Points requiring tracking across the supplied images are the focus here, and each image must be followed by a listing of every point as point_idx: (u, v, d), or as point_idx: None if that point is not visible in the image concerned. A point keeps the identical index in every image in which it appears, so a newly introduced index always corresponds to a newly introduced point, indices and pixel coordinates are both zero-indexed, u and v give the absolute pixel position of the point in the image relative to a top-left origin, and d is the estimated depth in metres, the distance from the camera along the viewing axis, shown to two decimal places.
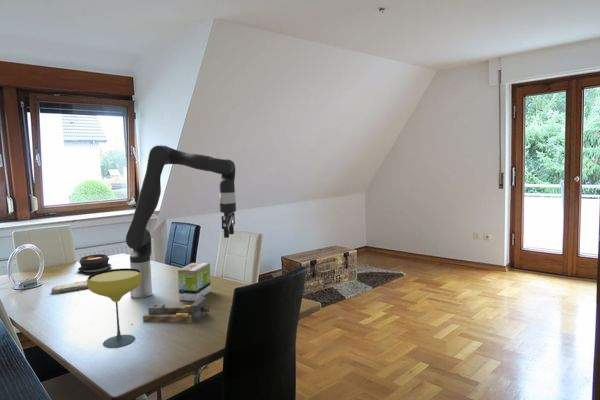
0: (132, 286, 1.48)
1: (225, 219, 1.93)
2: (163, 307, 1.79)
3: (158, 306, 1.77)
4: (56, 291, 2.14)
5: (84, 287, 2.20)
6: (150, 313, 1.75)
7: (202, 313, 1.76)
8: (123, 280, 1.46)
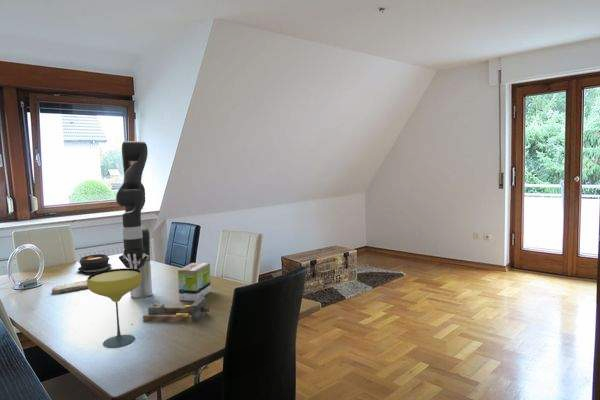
0: (132, 286, 1.48)
1: (147, 259, 1.76)
2: (163, 307, 1.79)
3: (158, 306, 1.77)
4: (57, 291, 2.13)
5: (85, 287, 2.20)
6: (150, 313, 1.76)
7: (202, 313, 1.76)
8: (123, 280, 1.46)
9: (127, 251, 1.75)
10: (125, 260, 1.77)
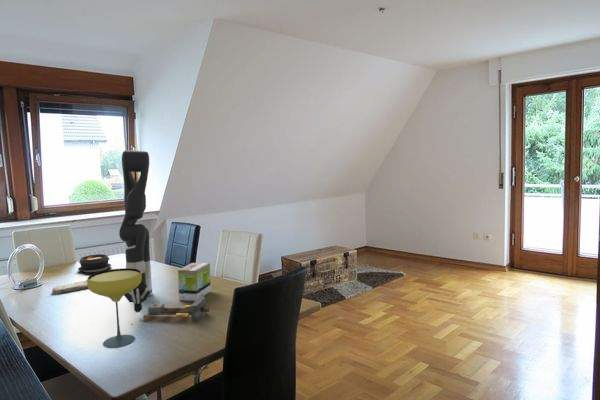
0: (132, 286, 1.48)
1: (150, 293, 1.78)
2: (162, 307, 1.79)
3: (157, 306, 1.77)
4: (57, 291, 2.13)
5: (85, 287, 2.21)
6: (149, 313, 1.76)
7: (202, 313, 1.76)
8: (123, 280, 1.46)
9: None
10: (128, 294, 1.78)
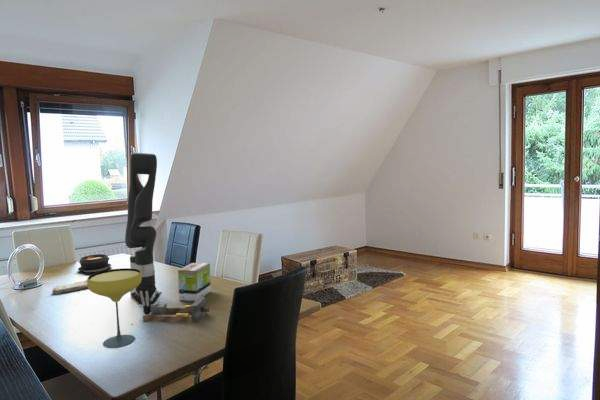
0: (132, 286, 1.48)
1: (159, 296, 1.77)
2: (165, 306, 1.79)
3: (160, 305, 1.77)
4: (58, 292, 2.13)
5: (85, 287, 2.21)
6: (152, 312, 1.76)
7: (202, 313, 1.76)
8: (123, 280, 1.46)
9: (139, 288, 1.76)
10: (137, 297, 1.78)
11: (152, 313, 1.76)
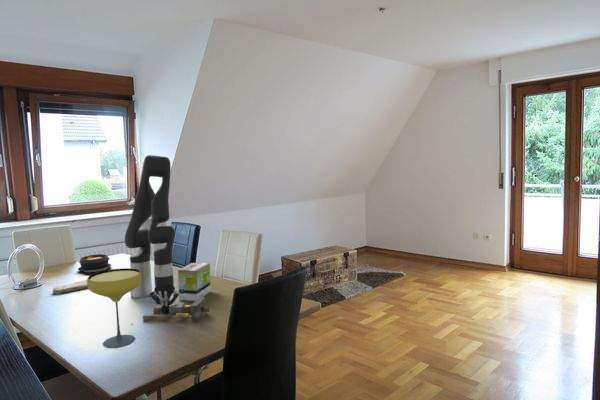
0: (132, 286, 1.48)
1: None
2: (183, 306, 1.78)
3: (178, 305, 1.76)
4: (58, 291, 2.13)
5: (86, 287, 2.21)
6: (171, 312, 1.75)
7: (202, 313, 1.76)
8: (123, 280, 1.46)
9: (158, 288, 1.75)
10: (156, 297, 1.77)
11: (171, 313, 1.75)
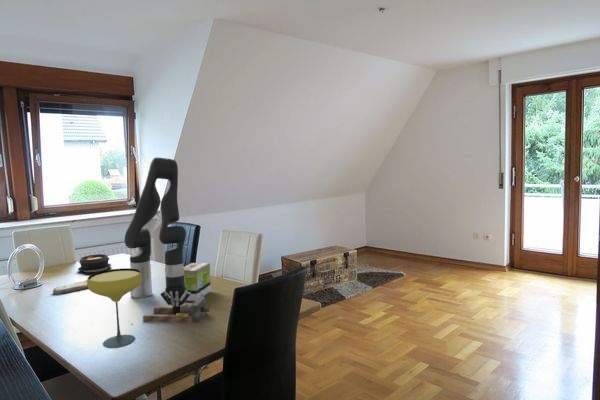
0: (132, 286, 1.48)
1: None
2: None
3: (189, 306, 1.76)
4: (58, 292, 2.12)
5: (86, 287, 2.21)
6: (182, 312, 1.75)
7: (202, 313, 1.76)
8: (123, 280, 1.46)
9: (169, 288, 1.75)
10: (167, 297, 1.76)
11: None
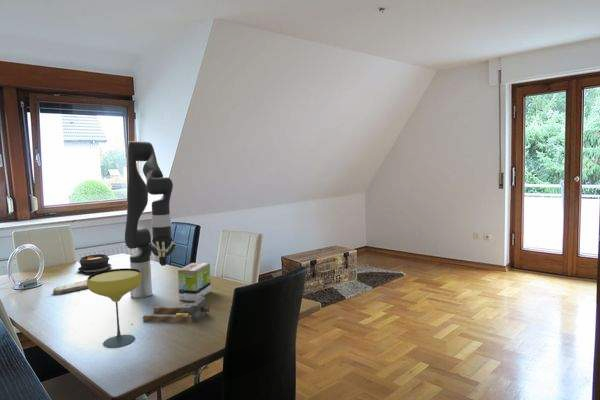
0: (132, 286, 1.48)
1: (175, 247, 1.79)
2: None
3: (190, 306, 1.76)
4: (59, 292, 2.12)
5: (86, 287, 2.21)
6: None
7: (202, 313, 1.76)
8: (123, 280, 1.46)
9: (156, 239, 1.77)
10: (153, 248, 1.79)
11: None
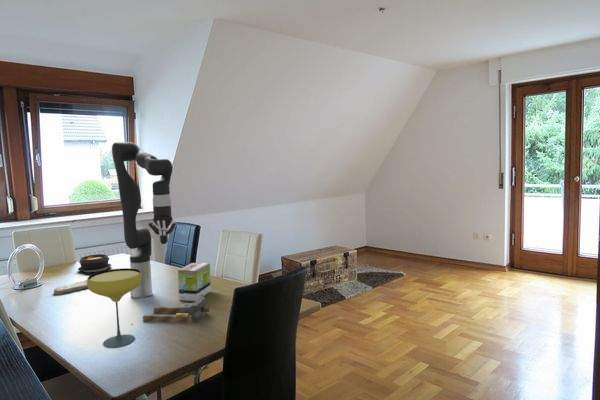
0: (132, 286, 1.48)
1: (175, 226, 1.86)
2: None
3: (189, 305, 1.76)
4: (60, 292, 2.12)
5: (86, 287, 2.21)
6: (181, 312, 1.75)
7: (202, 313, 1.76)
8: (123, 280, 1.46)
9: (156, 218, 1.85)
10: (154, 227, 1.86)
11: None
